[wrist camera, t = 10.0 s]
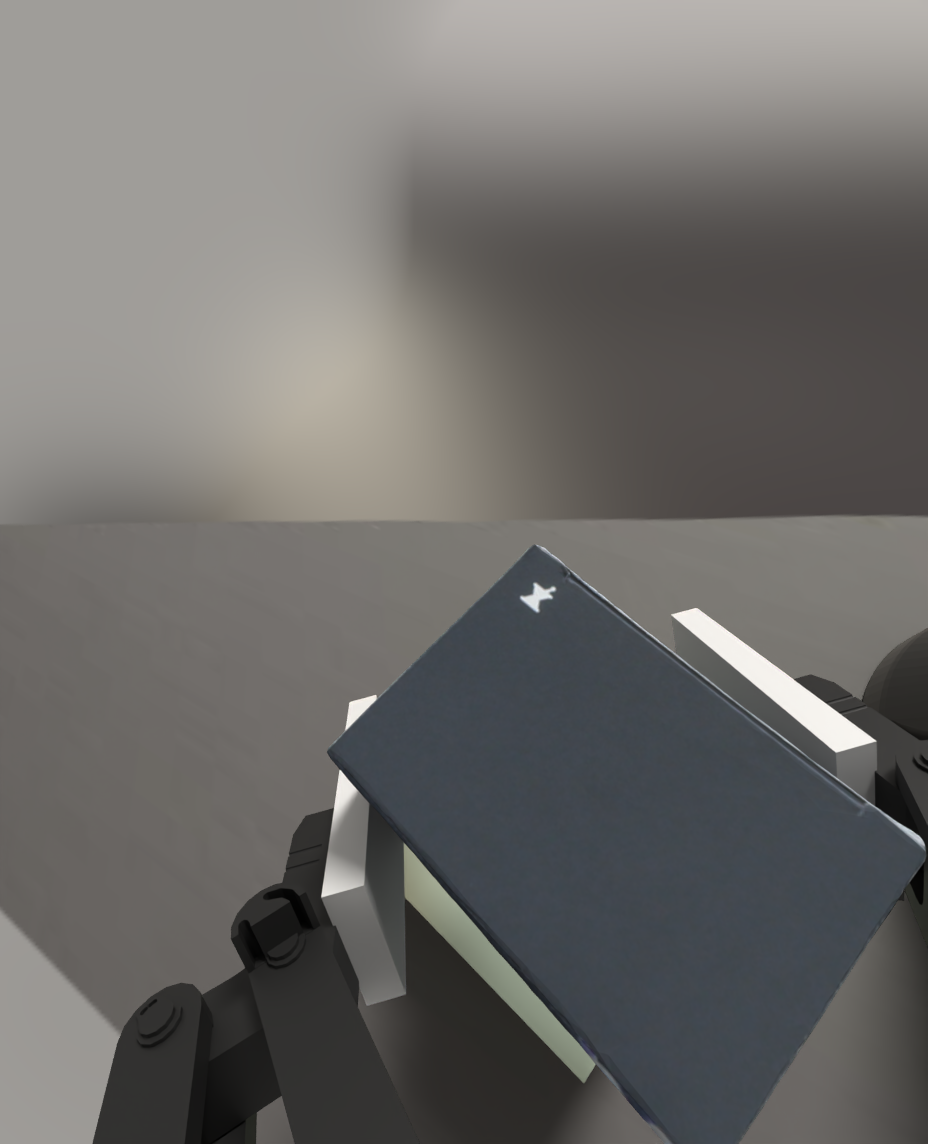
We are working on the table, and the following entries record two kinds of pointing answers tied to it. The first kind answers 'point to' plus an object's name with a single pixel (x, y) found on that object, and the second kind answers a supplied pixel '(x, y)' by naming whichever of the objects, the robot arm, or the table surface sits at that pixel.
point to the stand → (489, 963)
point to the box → (630, 843)
